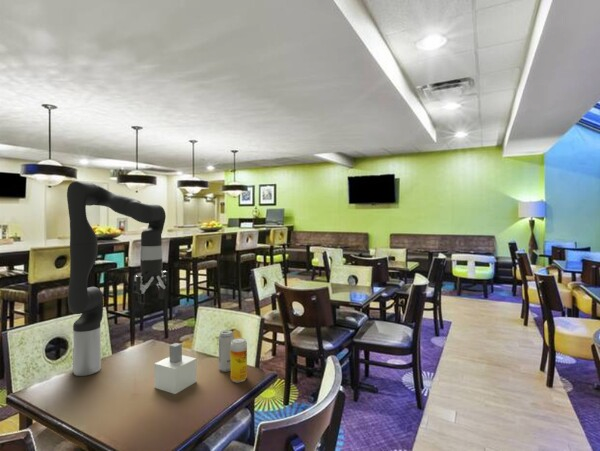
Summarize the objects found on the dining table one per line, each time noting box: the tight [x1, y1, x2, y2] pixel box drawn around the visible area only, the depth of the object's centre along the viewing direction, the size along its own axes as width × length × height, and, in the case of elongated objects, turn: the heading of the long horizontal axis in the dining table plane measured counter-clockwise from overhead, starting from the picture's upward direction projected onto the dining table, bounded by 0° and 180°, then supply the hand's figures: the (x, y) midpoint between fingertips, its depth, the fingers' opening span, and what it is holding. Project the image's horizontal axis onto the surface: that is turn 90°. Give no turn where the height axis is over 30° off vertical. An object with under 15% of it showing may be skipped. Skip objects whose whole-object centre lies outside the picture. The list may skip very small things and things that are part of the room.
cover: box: [153, 342, 197, 395], centre depth 126 cm, size 10×10×15 cm
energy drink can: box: [218, 329, 235, 373], centre depth 139 cm, size 6×6×15 cm
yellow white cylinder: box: [230, 337, 248, 383], centre depth 130 cm, size 6×6×15 cm
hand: (151, 301), depth 128 cm, fingers open, 8 cm apart
